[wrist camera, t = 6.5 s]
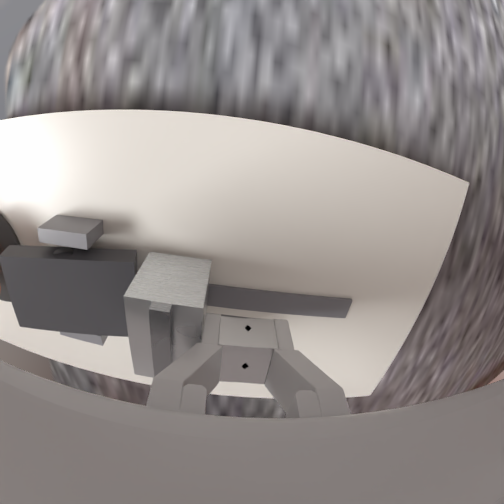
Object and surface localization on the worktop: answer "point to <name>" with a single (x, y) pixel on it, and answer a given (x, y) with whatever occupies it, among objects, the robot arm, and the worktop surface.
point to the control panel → (235, 227)
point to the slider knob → (165, 310)
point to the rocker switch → (69, 287)
